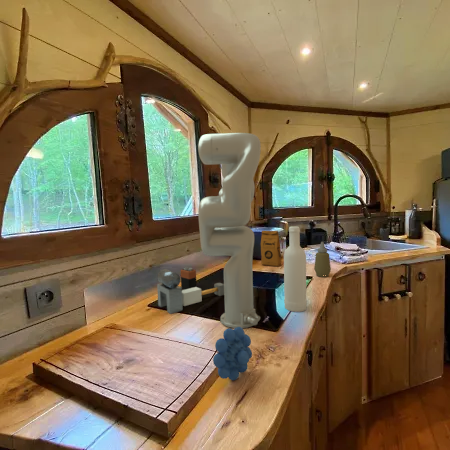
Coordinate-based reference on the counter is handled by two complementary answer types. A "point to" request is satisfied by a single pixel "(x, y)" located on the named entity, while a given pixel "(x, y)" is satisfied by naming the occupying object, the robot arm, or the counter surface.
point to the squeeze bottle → (322, 262)
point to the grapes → (232, 353)
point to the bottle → (295, 273)
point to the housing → (169, 291)
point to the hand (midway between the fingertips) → (234, 256)
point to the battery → (188, 278)
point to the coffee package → (270, 248)
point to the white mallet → (200, 294)
